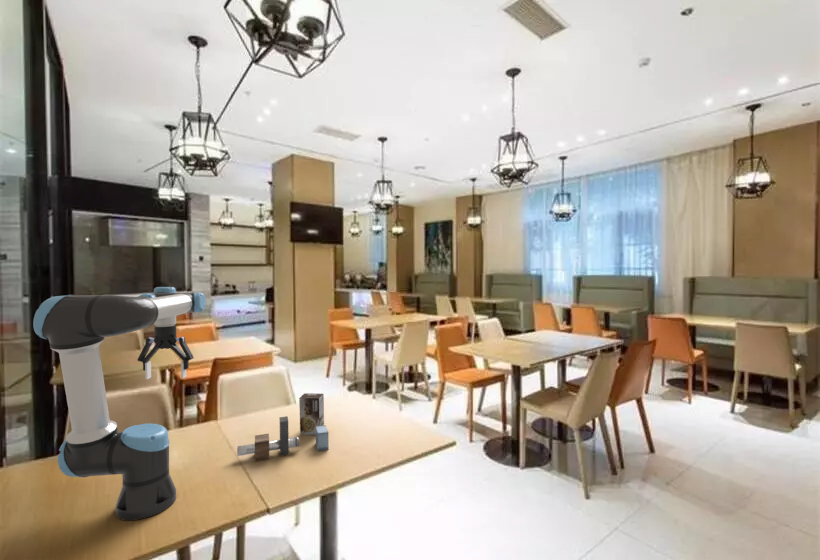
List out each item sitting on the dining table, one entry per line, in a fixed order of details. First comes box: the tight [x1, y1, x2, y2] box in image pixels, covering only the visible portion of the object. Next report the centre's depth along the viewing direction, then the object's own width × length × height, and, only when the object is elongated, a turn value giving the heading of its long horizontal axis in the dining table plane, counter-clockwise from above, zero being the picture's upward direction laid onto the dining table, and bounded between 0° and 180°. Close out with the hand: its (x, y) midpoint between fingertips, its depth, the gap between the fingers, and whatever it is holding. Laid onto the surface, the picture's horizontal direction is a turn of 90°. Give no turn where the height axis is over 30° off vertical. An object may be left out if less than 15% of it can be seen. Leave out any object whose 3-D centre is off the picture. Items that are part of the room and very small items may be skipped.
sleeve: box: [254, 433, 270, 462], centre depth 147 cm, size 7×5×7 cm
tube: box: [236, 415, 300, 457], centre depth 148 cm, size 22×5×13 cm, turn 111°
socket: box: [315, 424, 330, 452], centre depth 155 cm, size 7×4×7 cm, turn 21°
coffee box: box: [298, 392, 325, 436], centre depth 169 cm, size 9×6×16 cm
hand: (166, 378), depth 156 cm, fingers open, 13 cm apart
